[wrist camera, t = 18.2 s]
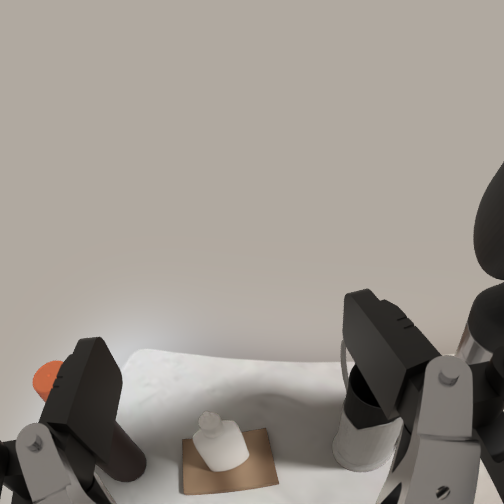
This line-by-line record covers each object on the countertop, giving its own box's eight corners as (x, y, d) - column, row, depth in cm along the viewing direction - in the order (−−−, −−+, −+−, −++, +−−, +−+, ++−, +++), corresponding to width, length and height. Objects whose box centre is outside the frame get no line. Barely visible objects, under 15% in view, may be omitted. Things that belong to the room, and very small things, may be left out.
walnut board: (266, 431, 36) (266, 427, 36) (279, 484, 28) (278, 481, 28) (184, 442, 35) (182, 439, 35) (186, 495, 27) (183, 493, 27)
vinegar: (150, 448, 34) (84, 355, 26) (143, 486, 28) (60, 403, 20) (111, 444, 34) (41, 353, 26) (103, 479, 28) (16, 394, 20)
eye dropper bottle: (209, 445, 34) (184, 397, 29) (250, 446, 33) (235, 397, 28) (205, 471, 30) (175, 429, 25) (248, 473, 29) (231, 431, 24)
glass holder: (345, 481, 27) (365, 428, 20) (310, 405, 39) (311, 333, 33) (404, 454, 28) (442, 390, 21) (362, 387, 40) (375, 313, 34)
